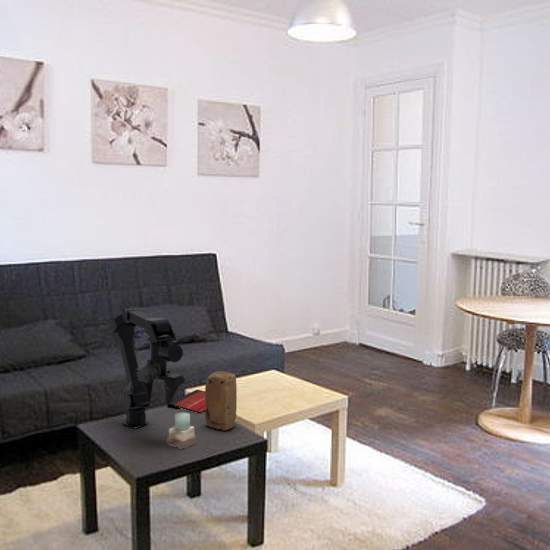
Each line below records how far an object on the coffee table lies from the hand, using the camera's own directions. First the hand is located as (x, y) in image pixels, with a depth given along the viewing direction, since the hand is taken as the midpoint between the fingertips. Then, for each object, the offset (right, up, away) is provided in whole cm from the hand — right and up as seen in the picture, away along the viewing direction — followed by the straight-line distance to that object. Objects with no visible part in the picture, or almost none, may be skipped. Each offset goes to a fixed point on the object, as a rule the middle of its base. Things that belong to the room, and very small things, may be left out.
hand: (158, 400), depth 219 cm
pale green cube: (+9, -8, -5) cm, 13 cm away
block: (+20, -12, +13) cm, 26 cm away
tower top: (+8, -11, -4) cm, 15 cm away
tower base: (+8, -14, -4) cm, 17 cm away
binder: (+9, -9, +38) cm, 40 cm away
